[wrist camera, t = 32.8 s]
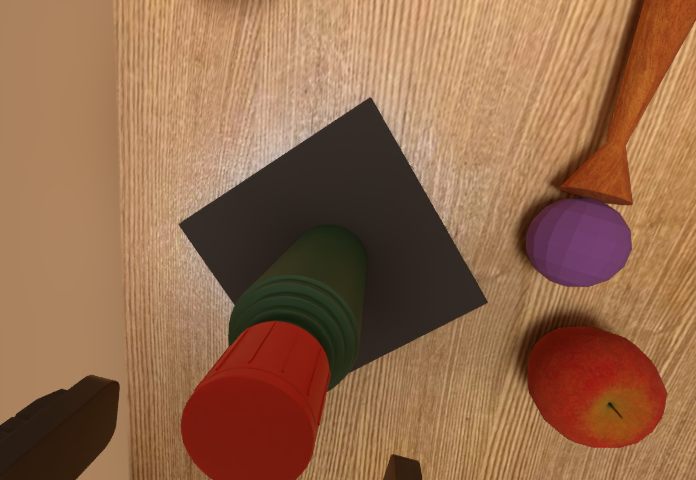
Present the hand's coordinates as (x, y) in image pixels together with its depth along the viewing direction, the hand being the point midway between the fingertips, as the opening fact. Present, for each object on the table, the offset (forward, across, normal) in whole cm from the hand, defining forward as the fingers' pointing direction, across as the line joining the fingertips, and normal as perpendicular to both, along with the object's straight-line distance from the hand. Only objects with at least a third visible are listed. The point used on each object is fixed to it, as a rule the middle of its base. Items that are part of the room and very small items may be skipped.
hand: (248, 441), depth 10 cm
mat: (+19, 0, 0) cm, 19 cm away
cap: (+4, 0, 0) cm, 4 cm away
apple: (+19, -20, +3) cm, 28 cm away
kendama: (+19, -16, -13) cm, 28 cm away
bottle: (+18, 0, 0) cm, 19 cm away
